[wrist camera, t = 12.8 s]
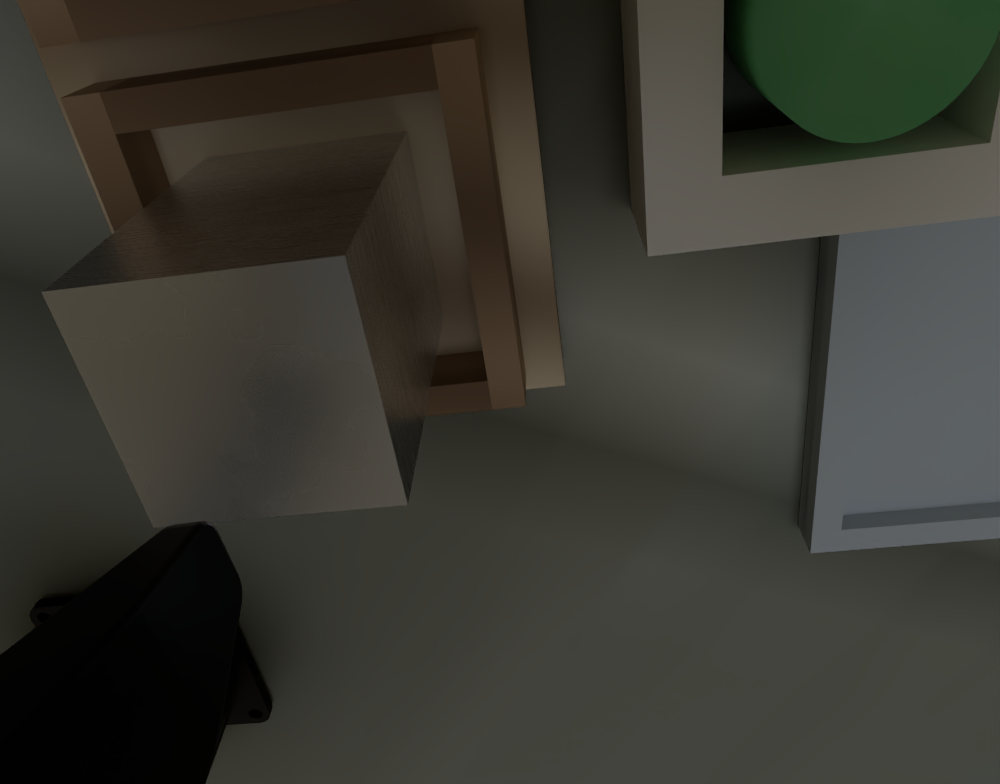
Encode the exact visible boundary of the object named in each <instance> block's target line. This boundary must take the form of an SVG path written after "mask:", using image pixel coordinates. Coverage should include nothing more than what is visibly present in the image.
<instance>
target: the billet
mask: <svg viewBox="0 0 1000 784" xmlns="http://www.w3.org/2000/svg"><path fill="white" fill-rule="evenodd" d="M42 294H43V296H44V299H45V301H46V303H47V305H48V307H49V309H50V311H51V313H52V315H53V317H54V320H55V322H56V324H57V326H58V328H59V330H60V332H61V334H62V336H63V338H64V341H65V343H66V345H67V347H68V349H69V351H70V353H71V355H72V357H73V359H74V362H75V364H76V366H77V368H78V370H79V372H80V374H81V376H82V378H83V380H84V383H85V385H86V387H87V389H88V391H89V393H90V395H91V397H92V399H93V401H94V403H95V406H96V408H97V410H98V412H99V414H100V416H101V418H102V420H103V422H104V424H105V427H106V429H107V431H108V433H109V435H110V437H111V439H112V441H113V443H114V445H115V448H116V450H117V452H118V454H119V456H120V458H121V460H122V462H123V464H124V466H125V469H126V471H127V473H128V475H129V477H130V479H131V481H132V483H133V485H134V487H135V490H136V492H137V494H138V496H139V498H140V500H141V502H142V504H143V506H144V508H145V511H146V513H147V515H148V517H149V519H150V521H151V523H152V525H153V527H154V528H156V527H168V526H170V525H174V524H180V523H188V522H196V521H206V522H209V523H212V522H223V521H234V520H245V519H257V518H268V517H279V516H290V515H301V514H312V513H323V512H335V511H346V510H357V509H368V508H379V507H390V506H401V505H408V502H409V496H410V491H411V486H412V481H413V475H414V470H415V465H416V460H417V455H418V449H419V444H420V439H421V434H422V428H423V423H424V418H425V413H426V407H427V402H428V397H429V392H430V387H431V381H432V376H433V371H434V366H435V360H436V355H437V350H438V345H439V339H440V334H441V329H442V324H443V319H444V318H443V313H442V308H441V303H440V297H439V292H438V287H437V282H436V277H435V271H434V266H433V261H432V256H431V251H430V245H429V240H428V235H427V230H426V225H425V219H424V214H423V209H422V204H421V199H420V193H419V188H418V183H417V178H416V173H415V167H414V162H413V157H412V152H411V147H410V141H409V136H408V131H399V132H392V133H384V134H377V135H369V136H362V137H355V138H347V139H340V140H332V141H325V142H317V143H310V144H302V145H295V146H288V147H280V148H273V149H265V150H258V151H250V152H243V153H235V154H228V155H220V156H213V157H206V158H205V159H203V160H202V161H201V162H200V163H198V164H197V165H196V166H195V167H194V168H192V169H191V170H190V171H189V172H187V173H186V174H185V175H184V176H183V177H181V178H180V179H179V180H178V181H176V182H175V183H174V184H173V185H172V186H170V187H169V188H168V189H167V190H165V191H164V192H163V193H162V194H161V195H159V196H158V197H157V198H156V199H154V200H153V201H152V202H151V203H150V204H148V205H147V206H146V207H145V208H143V209H142V210H141V211H140V212H139V213H137V214H136V215H135V216H134V217H132V218H131V219H130V220H129V221H128V222H126V223H125V224H124V225H123V226H121V227H120V228H119V229H118V230H117V231H115V232H114V233H113V234H112V235H110V236H109V237H108V238H107V239H105V240H104V241H103V242H102V243H101V244H99V245H98V246H97V247H96V248H94V249H93V250H92V251H91V252H90V253H88V254H87V255H86V256H85V257H83V258H82V259H81V260H80V261H79V262H77V263H76V264H75V265H74V266H72V267H71V268H70V269H69V270H68V271H66V272H65V273H64V274H63V275H61V276H60V277H59V278H58V279H57V280H55V281H54V282H53V283H52V284H50V285H49V286H48V287H47V288H46V289H44V290H43V291H42Z"/></svg>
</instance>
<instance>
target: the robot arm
mask: <svg viewBox="0 0 1000 784" xmlns="http://www.w3.org/2000/svg"><path fill="white" fill-rule="evenodd" d="M241 604H242V586H241V581H240V578H239V575H238V573H237V571H236V569H235V567H234V565H233V563H232V561H231V558H230V556H229V554H228V552H227V550H226V548H225V546H224V544H223V542H222V540H221V537H220V535H219V533H218V531H217V530H216V528H215V527H214V526H213V525H212V524H211V523H209V522H206V521H196V522H188V523H180V524H174V525H170V526H168V527H166V528H164V529H163V530H161V531H160V532H159V533H158V534H156V535H155V536H154V537H152V538H151V539H150V540H149V541H147V542H146V543H145V544H143V545H142V546H141V547H139V548H138V549H137V550H136V551H134V552H133V553H132V554H130V555H129V556H128V557H127V558H125V559H124V560H123V561H121V562H120V563H119V564H117V565H116V566H115V567H114V568H112V569H111V570H110V571H108V572H107V573H106V574H105V575H103V576H102V577H101V578H99V579H98V580H97V581H95V582H94V583H93V584H92V585H90V586H89V587H88V588H86V589H85V590H84V591H83V592H81V593H80V594H79V595H77V596H68V597H56V598H45V599H41V600H39V601H38V602H37V603H36V604H35V606H34V607H33V609H32V610H31V611H30V618H31V620H32V622H33V623H34V625H35V627H36V628H35V629H33V630H32V631H31V632H29V633H28V634H27V635H26V636H24V637H23V638H22V639H20V640H19V641H18V642H17V643H15V644H14V645H13V646H11V647H10V648H9V649H7V650H6V651H5V652H4V653H2V654H1V655H0V784H206V780H207V778H208V775H209V772H210V769H211V766H212V764H213V761H214V758H215V755H216V753H217V750H218V747H219V744H220V741H221V739H222V736H223V733H224V730H225V728H226V725H232V724H247V723H261V722H265V721H266V720H268V718H269V717H270V713H271V710H272V702H271V700H270V698H269V695H268V693H267V691H266V689H265V686H264V684H263V682H262V679H261V677H260V675H259V673H258V670H257V668H256V666H255V664H254V661H253V659H252V657H251V655H250V652H249V650H248V648H247V645H246V643H245V641H244V639H243V636H242V634H241V632H240V630H239V627H238V622H239V616H240V610H241Z"/></svg>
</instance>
